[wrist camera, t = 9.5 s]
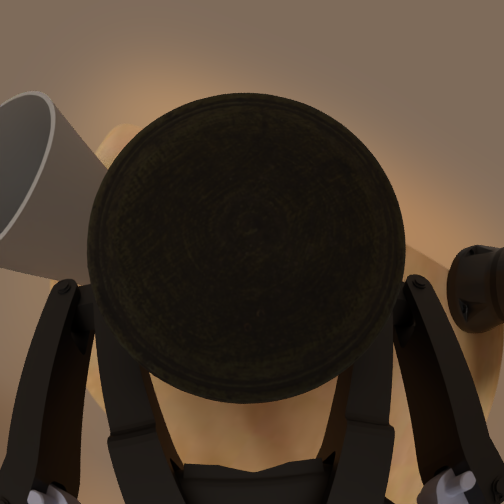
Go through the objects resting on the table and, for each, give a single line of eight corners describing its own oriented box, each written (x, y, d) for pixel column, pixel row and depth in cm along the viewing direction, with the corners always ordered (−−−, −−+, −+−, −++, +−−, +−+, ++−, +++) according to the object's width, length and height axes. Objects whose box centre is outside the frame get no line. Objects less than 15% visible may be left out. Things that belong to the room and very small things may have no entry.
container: (258, 358, 23) (322, 471, 5) (166, 304, 23) (23, 288, 6) (309, 267, 25) (449, 181, 7) (220, 216, 25) (201, 48, 7)
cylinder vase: (111, 309, 35) (-34, 300, 10) (65, 244, 36) (-60, 183, 11) (174, 245, 37) (84, 145, 12) (122, 185, 38) (31, 71, 14)
